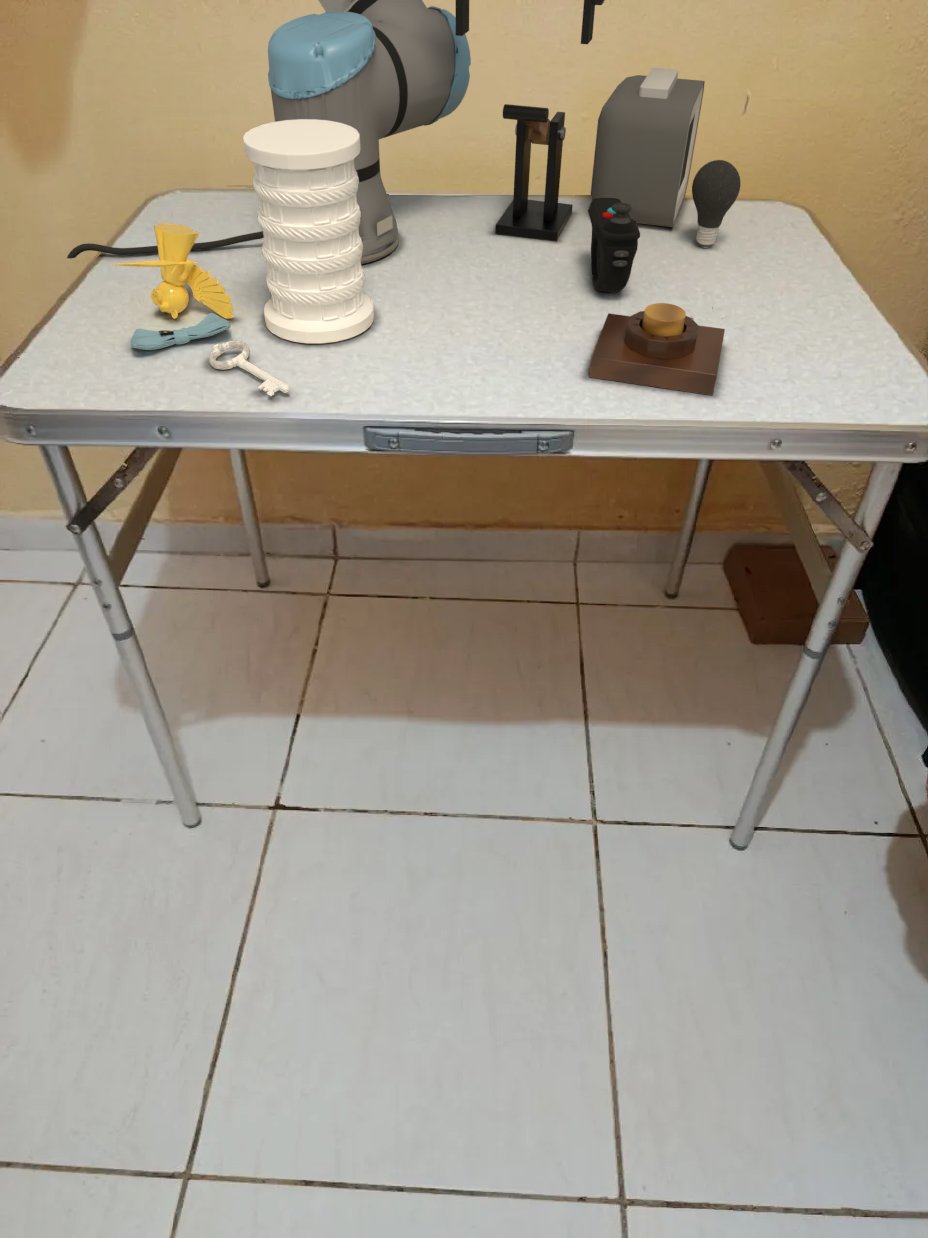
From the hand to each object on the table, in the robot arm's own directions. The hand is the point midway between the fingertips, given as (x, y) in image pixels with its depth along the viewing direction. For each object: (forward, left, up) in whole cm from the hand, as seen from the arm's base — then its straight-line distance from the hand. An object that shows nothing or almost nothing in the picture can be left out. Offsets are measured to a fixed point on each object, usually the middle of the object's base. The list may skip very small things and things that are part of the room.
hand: (523, 37), depth 98 cm
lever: (+1, +4, -11) cm, 11 cm away
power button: (+21, -24, -19) cm, 37 cm away
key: (-18, -40, -22) cm, 49 cm away
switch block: (+21, -24, -22) cm, 39 cm away
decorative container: (-15, -25, -22) cm, 37 cm away
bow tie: (-29, -32, -22) cm, 48 cm away
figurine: (-31, -29, -13) cm, 44 cm away
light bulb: (+23, +8, -23) cm, 33 cm away
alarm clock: (+13, +19, -23) cm, 32 cm away
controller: (+13, -7, -23) cm, 27 cm away
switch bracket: (+1, +9, -22) cm, 24 cm away
